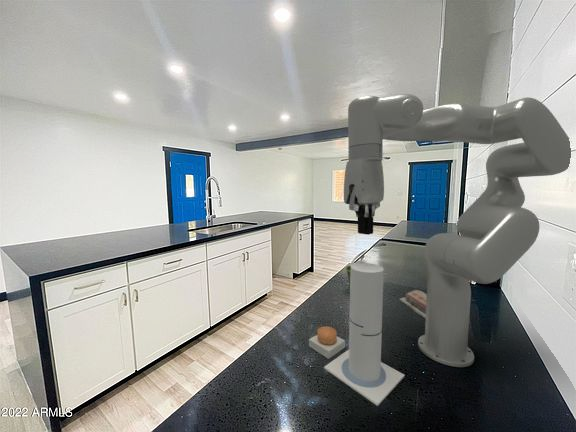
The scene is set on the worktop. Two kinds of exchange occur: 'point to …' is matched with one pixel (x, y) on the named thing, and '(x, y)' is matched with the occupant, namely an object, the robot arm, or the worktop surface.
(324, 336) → the button
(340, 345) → the button housing
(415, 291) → the packaged product
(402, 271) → the worktop surface
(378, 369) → the cylindrical container
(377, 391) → the white flat plate
